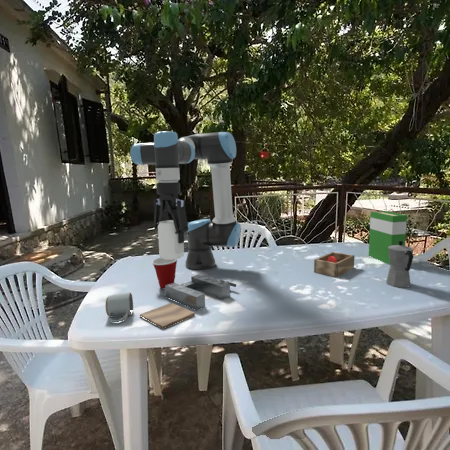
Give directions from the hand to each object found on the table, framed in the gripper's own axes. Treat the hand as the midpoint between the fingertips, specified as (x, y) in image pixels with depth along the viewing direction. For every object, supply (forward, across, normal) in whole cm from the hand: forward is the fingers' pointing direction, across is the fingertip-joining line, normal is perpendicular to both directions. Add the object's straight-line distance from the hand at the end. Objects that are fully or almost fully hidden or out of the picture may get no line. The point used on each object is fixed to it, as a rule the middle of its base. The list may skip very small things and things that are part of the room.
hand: (171, 250), depth 111 cm
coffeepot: (+22, +49, +77) cm, 93 cm away
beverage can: (+2, 0, 0) cm, 2 cm away
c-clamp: (+22, -5, +18) cm, 29 cm away
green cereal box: (+21, +32, +111) cm, 117 cm away
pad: (+22, 0, -3) cm, 22 cm away
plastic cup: (+22, -24, +14) cm, 35 cm away
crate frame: (+21, +20, +79) cm, 84 cm away
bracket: (+22, +19, +78) cm, 83 cm away
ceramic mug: (+22, -12, -14) cm, 29 cm away
